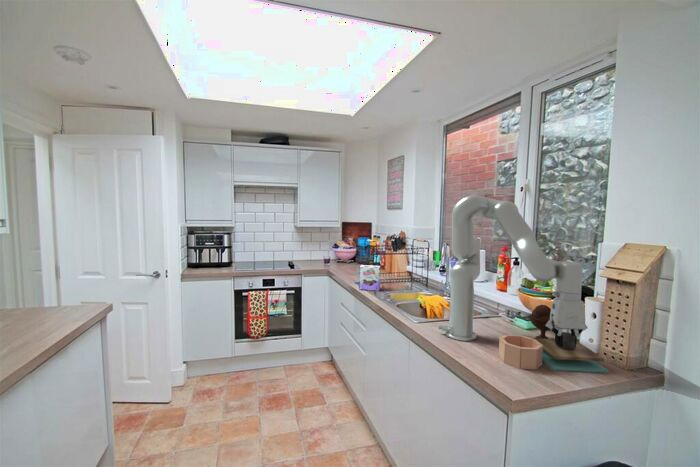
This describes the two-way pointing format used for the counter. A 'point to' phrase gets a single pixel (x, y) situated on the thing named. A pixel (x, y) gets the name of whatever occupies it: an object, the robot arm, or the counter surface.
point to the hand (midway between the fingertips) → (565, 345)
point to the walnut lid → (568, 349)
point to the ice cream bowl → (541, 319)
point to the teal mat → (572, 364)
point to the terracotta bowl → (520, 351)
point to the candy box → (369, 277)
